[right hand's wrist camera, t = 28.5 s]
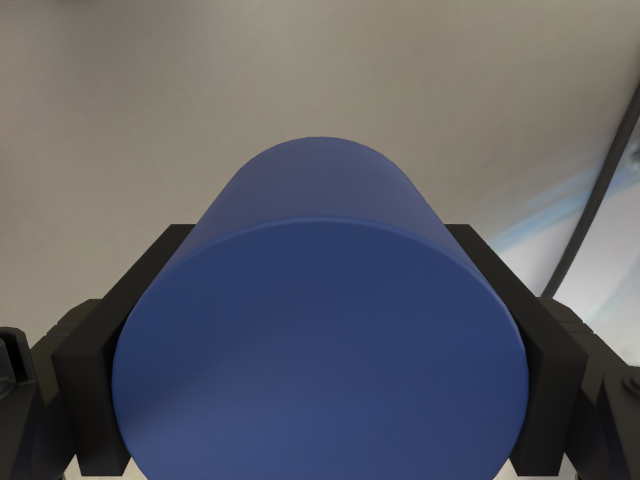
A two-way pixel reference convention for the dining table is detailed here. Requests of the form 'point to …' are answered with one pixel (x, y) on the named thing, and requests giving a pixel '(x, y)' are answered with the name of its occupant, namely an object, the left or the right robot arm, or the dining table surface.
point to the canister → (320, 335)
